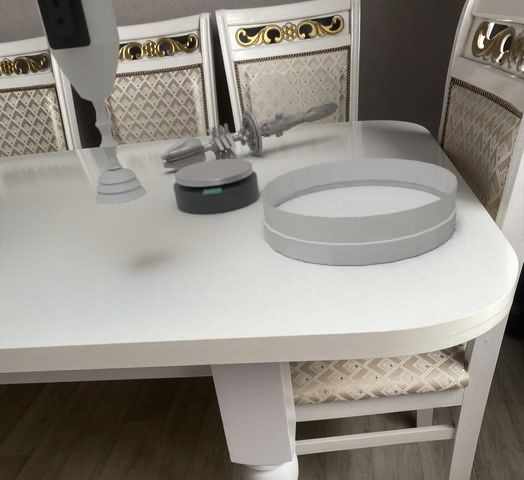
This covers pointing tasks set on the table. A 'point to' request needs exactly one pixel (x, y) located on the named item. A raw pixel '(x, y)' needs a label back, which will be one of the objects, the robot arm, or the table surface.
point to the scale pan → (213, 172)
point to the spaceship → (240, 136)
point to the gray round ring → (360, 211)
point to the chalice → (100, 93)
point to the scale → (217, 196)
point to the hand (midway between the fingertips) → (84, 42)
